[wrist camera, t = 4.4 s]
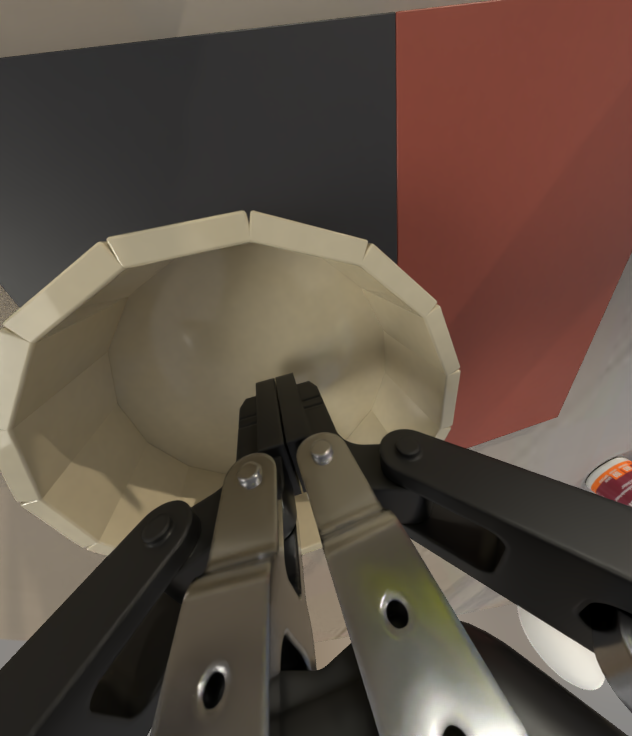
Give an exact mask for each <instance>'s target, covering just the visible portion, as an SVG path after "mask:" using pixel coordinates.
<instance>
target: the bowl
mask: <svg viewBox="0 0 632 736" xmlns="http://www.w3.org/2000/svg"><path fill="white" fill-rule="evenodd" d="M106 240H107V241H101V242H97V243H96V244H94V245H93V246H92V247H91V248H90V249H88V250H87V251H86V252H85V253H84V254H83V255H81V256H80V257H79V258H78V259H77V260H76V261H74V262H73V263H72V264H71V265H70V266H68V267H67V268H66V269H65V270H64V271H63V272H61V273H60V274H59V275H58V276H57V277H56V278H54V279H53V280H52V281H51V282H50V283H48V284H47V285H46V286H45V287H44V288H43V289H41V290H40V291H39V292H38V293H37V294H35V295H34V296H33V297H32V298H31V299H30V300H28V301H27V302H26V303H25V304H24V305H23V306H21V307H20V308H19V309H18V310H17V311H15V312H14V313H13V314H12V315H11V316H10V317H8V318H7V319H6V320H5V321H4V322H3V326H4V327H3V328H0V472H1V474H2V476H3V478H4V480H5V482H6V483H7V485H8V487H9V489H10V491H11V493H12V495H13V497H14V499H15V501H16V502H21V504H20V506H21V507H22V508H24V509H25V510H27V511H28V512H30V513H31V514H33V515H34V516H35V517H37V518H38V519H40V520H41V521H43V522H44V523H46V524H47V525H49V526H50V527H52V528H53V529H54V530H56V531H57V532H59V533H60V534H62V535H63V536H65V537H66V538H68V539H69V540H71V541H72V542H73V543H75V544H76V545H78V546H79V547H81V548H85V547H87V548H86V550H88V551H91V552H95V553H98V554H102V555H105V556H108V555H109V554H110V553H111V552H112V551H113V550H114V549H115V548H116V547H117V546H118V545H119V544H120V543H121V541H122V540H123V539H124V538H125V537H126V536H127V535H128V534H129V533H130V532H131V531H132V530H133V529H134V528H135V527H136V526H137V525H138V523H139V522H140V521H141V520H142V519H143V518H144V517H145V516H146V515H148V514H149V513H150V512H151V511H152V510H154V509H155V508H157V507H159V506H160V505H162V504H164V503H167V502H170V501H175V500H181V501H184V502H186V503H188V505H189V506H190V507H192V506H194V505H195V504H197V503H199V502H200V501H202V500H204V499H205V498H207V497H208V496H210V495H212V494H213V493H215V492H216V491H217V490H219V489H220V488H221V487H222V486H223V482H224V478H225V476H226V473H227V472H228V470H229V469H230V468H231V466H232V465H233V464H234V463H235V462H236V455H237V440H238V429H239V427H238V425H239V410H240V407H241V406H242V404H243V402H244V401H245V399H247V398H250V397H254V396H256V383H257V382H261V381H264V380H268V379H271V378H274V379H275V377H278V376H282V375H286V374H289V373H293V375H294V378H295V381H296V384H299V383H303V382H306V381H310V382H311V383H313V384H314V385H316V386H317V387H318V390H319V392H320V394H321V397H322V399H323V401H324V403H325V406H326V408H327V410H328V413H329V415H330V417H331V419H332V422H333V424H334V426H335V428H336V431H337V432H338V434H339V435H340V436H341V437H342V438H343V439H345V440H346V441H349V442H351V443H354V444H363V445H367V444H380V442H381V440H382V438H383V437H384V436H385V435H386V434H388V433H389V432H391V431H394V430H398V429H410V430H415V431H418V432H421V433H424V434H427V435H429V436H432V437H435V438H438V439H441V440H445V439H446V437H447V435H448V433H449V432H450V430H451V427H450V426H452V425H453V419H454V412H455V405H456V399H457V392H458V386H459V379H460V373H461V371H460V370H459V368H460V364H459V361H458V358H457V355H456V352H455V349H454V346H453V343H452V340H451V337H450V334H449V331H448V328H447V325H446V322H445V319H444V316H443V313H442V310H441V307H440V306H439V305H438V304H437V301H436V299H434V298H433V297H432V296H431V295H430V294H429V293H428V292H427V291H426V290H424V289H423V288H422V287H421V286H420V285H419V284H418V283H417V282H416V281H414V280H413V279H412V278H411V277H410V276H409V275H408V274H407V273H406V272H404V271H403V270H402V269H401V268H400V267H399V266H398V265H397V264H396V263H395V262H393V261H392V260H391V259H390V258H389V257H388V256H387V255H386V254H385V253H383V252H382V251H381V250H380V249H379V248H378V247H377V246H376V245H375V244H372V243H368V241H367V240H366V239H362V238H358V237H354V236H351V235H347V234H343V233H339V232H335V231H331V230H327V229H324V228H320V227H316V226H312V225H308V224H304V223H300V222H297V221H293V220H289V219H285V218H281V217H277V216H273V215H269V214H266V213H262V212H258V211H254V210H253V211H251V212H250V221H248V217H247V214H246V212H245V211H243V210H240V211H235V212H230V213H225V214H220V215H215V216H210V217H205V218H200V219H195V220H190V221H185V222H180V223H175V224H170V225H165V226H160V227H155V228H150V229H145V230H140V231H135V232H130V233H125V234H120V235H115V236H110V237H108V238H107V239H106ZM275 382H276V379H275ZM299 482H300V481H299ZM300 487H301V493H302V494H299V495H296V496H294V497H295V503H296V509H297V517H298V521H299V530H300V541H301V552H302V555H303V554H306V553H309V552H312V551H314V550H317V549H320V548H322V543H321V540H320V535H319V532H318V528H317V525H316V522H315V519H314V515H313V512H312V509H311V505H310V502H309V499H308V496H307V492H305V493H304V492H303V489H302V486H301V484H300Z"/></svg>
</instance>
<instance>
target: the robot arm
mask: <svg viewBox="0 0 632 736" xmlns="http://www.w3.org/2000/svg"><path fill="white" fill-rule="evenodd" d="M275 379H276V382H275ZM275 379H274V378H271V379H268V380H264V381H261V382H257V383H256V396H254V397H250V398H247V399H245V401H244V402H243V404H242V406H241V407H240V410H239V425H238V427H239V429H238V440H237V455H236V462H235V463H234V464H233V465H232V466H231V468H230V469H229V470H228V472H227V473H226V476H225V478H224V482H223V486H222V487H221V488H220V489H219V490H217V491H216V492H215V493H213V494H212V495H210V496H208V497H207V498H205V499H204V500H202V501H200V502H199V503H197V504H195V505H194V506H192V507H190V506H189V505H188V503H186V502H184V501H181V500H175V501H170V502H167V503H164V504H162V505H160V506H159V507H157V508H155V509H154V510H152V511H151V512H150V513H149V514H148V515H146V516H145V517H144V518H143V519H142V520H141V521H140V522H139V523H138V525H137V526H136V527H135V528H134V529H133V530H132V531H131V532H130V533H129V534H128V535H127V536H126V537H125V538H124V539H123V540H122V541H121V543H120V544H119V545H118V546H117V547H116V548H115V549H114V550H113V551H112V552H111V553H110V554H109V555H108V556H107V557H106V558H105V559H104V561H103V562H102V563H101V564H100V565H99V566H98V567H97V568H96V569H95V570H94V571H93V572H92V573H91V574H90V575H89V576H88V577H87V579H86V580H85V581H84V582H83V583H82V584H81V585H80V586H79V587H78V588H77V589H76V590H75V591H74V592H73V593H72V594H71V595H70V597H69V598H68V599H67V600H66V601H65V602H64V603H63V604H62V605H61V606H60V607H59V608H58V609H57V610H56V611H55V612H54V613H53V615H52V616H51V617H50V618H49V619H48V620H47V621H46V622H45V623H44V624H43V625H42V626H41V627H40V628H39V629H38V630H37V631H36V633H35V634H34V635H33V636H32V637H31V638H30V639H29V640H28V641H27V642H26V643H25V644H24V645H23V646H22V647H21V648H20V649H19V650H18V652H17V653H16V654H15V655H14V656H13V657H12V658H11V659H10V660H9V661H8V662H7V663H6V664H5V666H3V667H2V668H1V670H0V736H147V735H148V733H149V731H150V729H151V728H152V729H151V733H150V736H628V735H626V734H625V733H624V732H622V731H621V730H620V729H618V728H617V727H616V726H615V725H613V724H612V723H610V722H609V721H608V720H606V719H605V718H604V717H602V716H601V715H600V714H599V713H597V712H596V711H595V710H593V709H592V708H591V707H589V706H588V705H587V704H585V703H584V702H583V701H581V700H580V699H579V698H577V697H576V696H575V695H573V694H572V693H571V692H569V691H568V690H567V689H566V688H564V687H563V686H562V685H560V684H559V683H558V682H556V681H555V680H554V679H552V678H551V677H550V676H548V675H547V674H546V673H544V672H543V671H542V670H540V669H539V668H538V667H536V666H535V665H534V664H532V663H531V662H530V661H528V660H527V659H526V658H524V657H523V656H522V655H520V654H519V653H518V652H516V651H515V650H514V649H512V648H511V647H510V646H508V645H507V644H505V643H504V642H502V641H501V640H499V639H498V638H496V637H494V636H492V635H491V634H489V633H487V632H486V631H484V630H481V629H480V628H477V627H475V626H473V625H471V624H469V623H466V622H462V621H459V619H458V617H457V616H456V614H455V612H454V611H453V609H452V607H451V606H450V604H449V602H448V601H447V599H446V597H445V596H444V594H443V592H442V591H441V589H440V587H439V586H438V584H437V582H436V581H435V579H434V578H433V576H432V574H431V573H430V571H429V569H428V568H427V566H426V564H425V563H424V561H423V559H422V558H421V556H420V554H419V553H418V551H417V549H416V548H415V546H414V544H413V543H412V541H411V539H412V540H414V541H415V542H417V543H419V544H420V545H422V546H423V547H425V548H427V549H428V550H430V551H431V552H433V553H435V554H436V555H438V556H439V557H441V558H443V559H444V560H446V561H447V562H449V563H451V564H452V565H454V566H455V567H457V568H459V569H460V570H462V571H463V572H465V573H467V574H468V575H470V576H471V577H473V578H475V579H476V580H478V581H479V582H481V583H483V584H484V585H486V586H487V587H489V588H491V589H492V590H494V591H495V592H497V593H499V594H500V595H502V596H503V597H505V598H507V599H508V600H510V601H511V602H513V603H515V604H516V605H518V606H519V607H521V608H523V609H524V610H526V611H527V612H529V613H531V614H532V615H534V616H535V617H537V618H539V619H540V620H542V621H543V622H545V623H547V624H548V625H550V626H551V627H553V628H555V629H556V630H558V631H559V632H561V633H563V634H564V635H566V636H567V637H569V638H571V639H572V640H574V641H575V642H577V643H579V644H580V645H582V646H583V647H585V648H587V649H588V650H590V651H591V652H593V653H595V656H596V659H597V662H598V664H599V666H600V668H601V671H602V673H603V674H604V676H605V678H606V679H607V681H608V683H609V685H610V686H611V687H612V689H613V691H614V692H615V693H616V695H617V696H618V698H619V699H620V700H621V701H622V702H623V703H624V704H625V706H626V707H627V708H628V709H629V710H630V711H631V713H632V507H631V506H628V505H625V504H622V503H619V502H616V501H614V500H611V499H608V498H605V497H602V496H599V495H597V494H594V493H591V492H588V491H585V490H582V489H580V488H577V487H574V486H571V485H568V484H565V483H563V482H560V481H557V480H554V479H551V478H548V477H546V476H543V475H540V474H537V473H534V472H531V471H529V470H526V469H523V468H520V467H517V466H514V465H512V464H509V463H506V462H503V461H500V460H497V459H495V458H492V457H489V456H486V455H483V454H480V453H478V452H475V451H472V450H469V449H466V448H463V447H461V446H458V445H455V444H452V443H449V442H446V441H444V440H441V439H438V438H435V437H432V436H429V435H427V434H424V433H421V432H418V431H415V430H410V429H398V430H394V431H391V432H389V433H388V434H386V435H385V436H384V437H383V438H382V440H381V442H380V444H367V445H363V444H354V443H351V442H349V441H346V440H345V439H343V438H342V437H341V436H340V435H339V434H338V432H337V431H336V428H335V426H334V424H333V422H332V419H331V417H330V415H329V413H328V410H327V408H326V406H325V403H324V401H323V399H322V397H321V394H320V392H319V390H318V387H317V386H316V385H314V384H313V383H311V382H310V381H306V382H303V383H299V384H296V381H295V378H294V375H293V373H289V374H286V375H282V376H278V377H275ZM299 481H300V482H299ZM300 484H301V486H302V489H303V492H304V493H305V492H307V496H308V499H309V502H310V505H311V509H312V512H313V515H314V519H315V522H316V525H317V528H318V532H319V535H320V540H321V543H322V547H323V550H324V554H325V557H326V560H327V564H328V567H329V570H330V574H331V577H332V580H333V583H334V587H335V590H336V593H337V597H338V600H339V603H340V607H341V610H342V613H343V617H344V620H345V623H346V627H347V630H348V633H349V636H350V640H351V644H350V645H349V646H348V647H346V648H345V649H344V650H343V651H342V652H341V653H340V654H339V655H338V656H337V657H335V658H334V659H333V660H332V661H331V662H330V663H329V664H328V665H327V666H325V667H324V668H323V669H320V670H317V669H316V659H315V650H314V640H313V633H312V627H311V621H310V616H309V612H308V608H307V602H306V595H305V584H304V574H303V563H302V552H301V541H300V530H299V521H298V517H297V509H296V503H295V497H294V496H296V495H299V494H302V493H301V487H300ZM410 538H411V539H410Z"/></svg>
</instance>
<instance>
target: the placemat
mask: <svg viewBox="0 0 632 736" xmlns="http://www.w3.org/2000/svg"><path fill="white" fill-rule="evenodd" d="M240 210H243V211H245V212H246V214H247V217H248V221H250V212H251V211H253V210H254V211H258V212H262V213H266V214H269V215H273V216H277V217H281V218H285V219H289V220H293V221H297V222H300V223H304V224H308V225H312V226H316V227H320V228H324V229H327V230H331V231H335V232H339V233H343V234H347V235H351V236H354V237H358V238H362V239H366V240H367V241H368V243H372V244H375V245H376V246H377V247H378V248H379V249H380V250H381V251H382V252H383V253H385V254H386V255H387V256H388V257H389V258H390V259H391V260H392V261H393V262H395V263H396V264H397V265H398V266H399V267H400V268H401V269H402V270H403V271H404V272H406V273H407V274H408V275H409V276H410V277H411V278H412V279H413V280H414V281H416V282H417V283H418V284H419V285H420V286H421V287H422V288H423V289H424V290H426V291H427V292H428V293H429V294H430V295H431V296H432V297H433V298H434V299H436V301H437V304H438V305H439V306H440V307H441V310H442V313H443V316H444V319H445V322H446V325H447V328H448V331H449V334H450V337H451V340H452V343H453V346H454V349H455V352H456V355H457V358H458V361H459V364H460V368H459V370H460V371H461V373H460V379H459V386H458V392H457V399H456V405H455V412H454V419H453V425H452V426H450V427H451V430H450V432H449V433H448V435H447V437H446V439H445V440H444V441H446V442H449V443H452V444H455V445H458V446H461V447H463V448H469V447H472V446H475V445H478V444H481V443H484V442H487V441H489V440H492V439H495V438H498V437H501V436H504V435H507V434H510V433H513V432H515V431H518V430H521V429H524V428H527V427H530V426H533V425H536V424H539V423H541V422H544V421H547V420H550V419H553V418H556V417H558V415H559V413H560V410H561V408H562V406H563V404H564V401H565V399H566V397H567V395H568V393H569V390H570V388H571V386H572V384H573V381H574V379H575V377H576V375H577V373H578V370H579V368H580V366H581V364H582V361H583V359H584V357H585V355H586V353H587V350H588V348H589V346H590V344H591V341H592V339H593V337H594V335H595V333H596V330H597V328H598V326H599V324H600V321H601V319H602V317H603V315H604V313H605V310H606V308H607V306H608V304H609V301H610V299H611V297H612V295H613V292H614V290H615V288H616V286H617V284H618V281H619V279H620V277H621V275H622V272H623V270H624V268H625V266H626V264H627V261H628V259H629V257H630V255H631V252H632V0H492V1H484V2H475V3H466V4H458V5H449V6H441V7H432V8H424V9H415V10H406V11H398V12H396V13H395V12H389V13H381V14H372V15H364V16H355V17H346V18H338V19H329V20H321V21H312V22H304V23H295V24H286V25H278V26H269V27H261V28H252V29H244V30H235V31H226V32H218V33H209V34H201V35H192V36H184V37H175V38H166V39H158V40H149V41H141V42H132V43H124V44H115V45H106V46H98V47H89V48H81V49H72V50H64V51H55V52H46V53H38V54H29V55H21V56H12V57H4V58H0V285H1V286H2V287H3V288H4V289H5V291H6V292H7V293H8V294H9V296H10V297H11V298H12V299H13V300H14V302H15V303H16V304H17V305H18V306H19V308H20V307H21V306H23V305H24V304H25V303H26V302H27V301H28V300H30V299H31V298H32V297H33V296H34V295H35V294H37V293H38V292H39V291H40V290H41V289H43V288H44V287H45V286H46V285H47V284H48V283H50V282H51V281H52V280H53V279H54V278H56V277H57V276H58V275H59V274H60V273H61V272H63V271H64V270H65V269H66V268H67V267H68V266H70V265H71V264H72V263H73V262H74V261H76V260H77V259H78V258H79V257H80V256H81V255H83V254H84V253H85V252H86V251H87V250H88V249H90V248H91V247H92V246H93V245H94V244H96V243H97V242H101V241H107V240H106V239H107V238H108V237H110V236H115V235H120V234H125V233H130V232H135V231H140V230H145V229H150V228H155V227H160V226H165V225H170V224H175V223H180V222H185V221H190V220H195V219H200V218H205V217H210V216H215V215H220V214H225V213H230V212H235V211H240Z"/></svg>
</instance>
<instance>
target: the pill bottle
mask: <svg viewBox="0 0 632 736" xmlns="http://www.w3.org/2000/svg"><path fill="white" fill-rule="evenodd" d="M586 486H587V487H588V488H589V489H590V490H592V491H593V492H594V493H596V494H597V495H599V496H602V497H605V498H608V499H611V500H614V501H616V502H619V503H622V504H625V505H628V506H631V507H632V462H631V461H629V460H628V459H626V458H615V459H612V460H610V461H608V462H607V463H605V464H603V465H602V466H600V467H599V468H597V469H596V470H595V471H593V472H592V473H591V474H590V476H589V477H588V478H587V481H586Z"/></svg>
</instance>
